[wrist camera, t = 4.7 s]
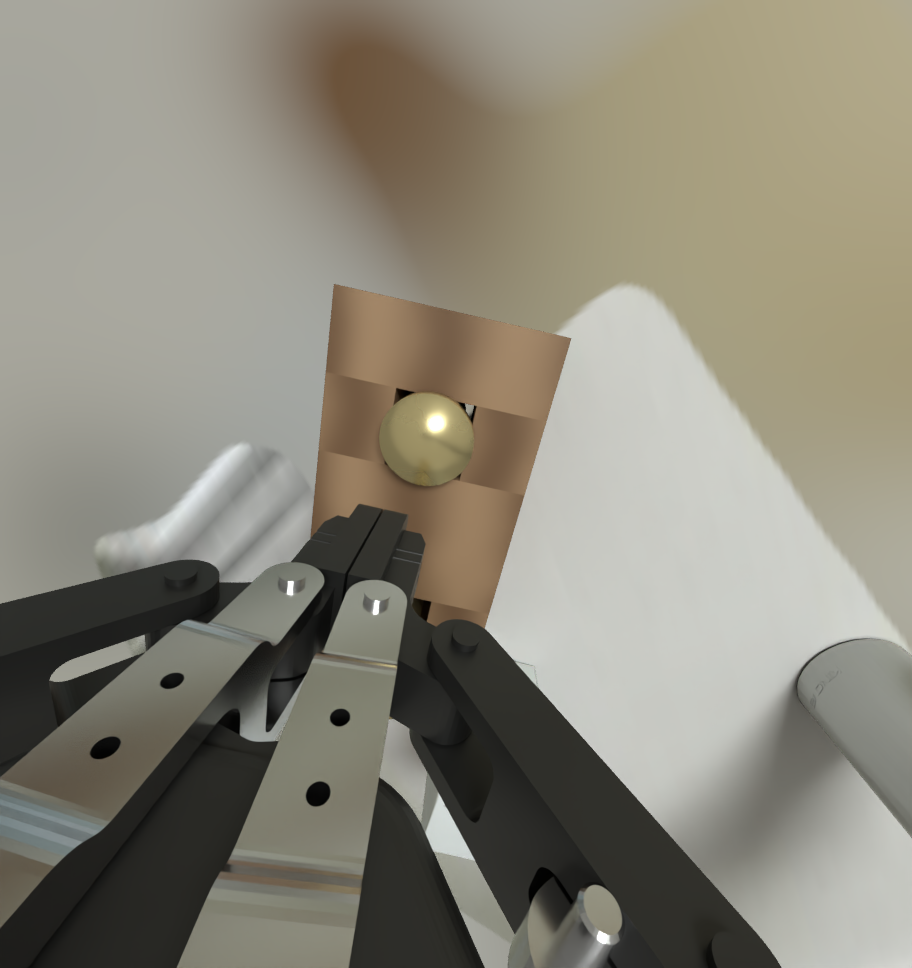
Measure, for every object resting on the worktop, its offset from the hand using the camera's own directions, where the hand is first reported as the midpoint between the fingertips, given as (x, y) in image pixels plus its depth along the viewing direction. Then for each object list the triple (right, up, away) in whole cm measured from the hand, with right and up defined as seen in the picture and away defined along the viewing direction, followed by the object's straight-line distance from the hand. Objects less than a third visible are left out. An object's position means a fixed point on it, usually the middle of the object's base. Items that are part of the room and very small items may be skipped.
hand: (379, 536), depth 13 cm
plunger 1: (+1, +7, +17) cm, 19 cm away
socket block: (0, +1, +20) cm, 20 cm away
